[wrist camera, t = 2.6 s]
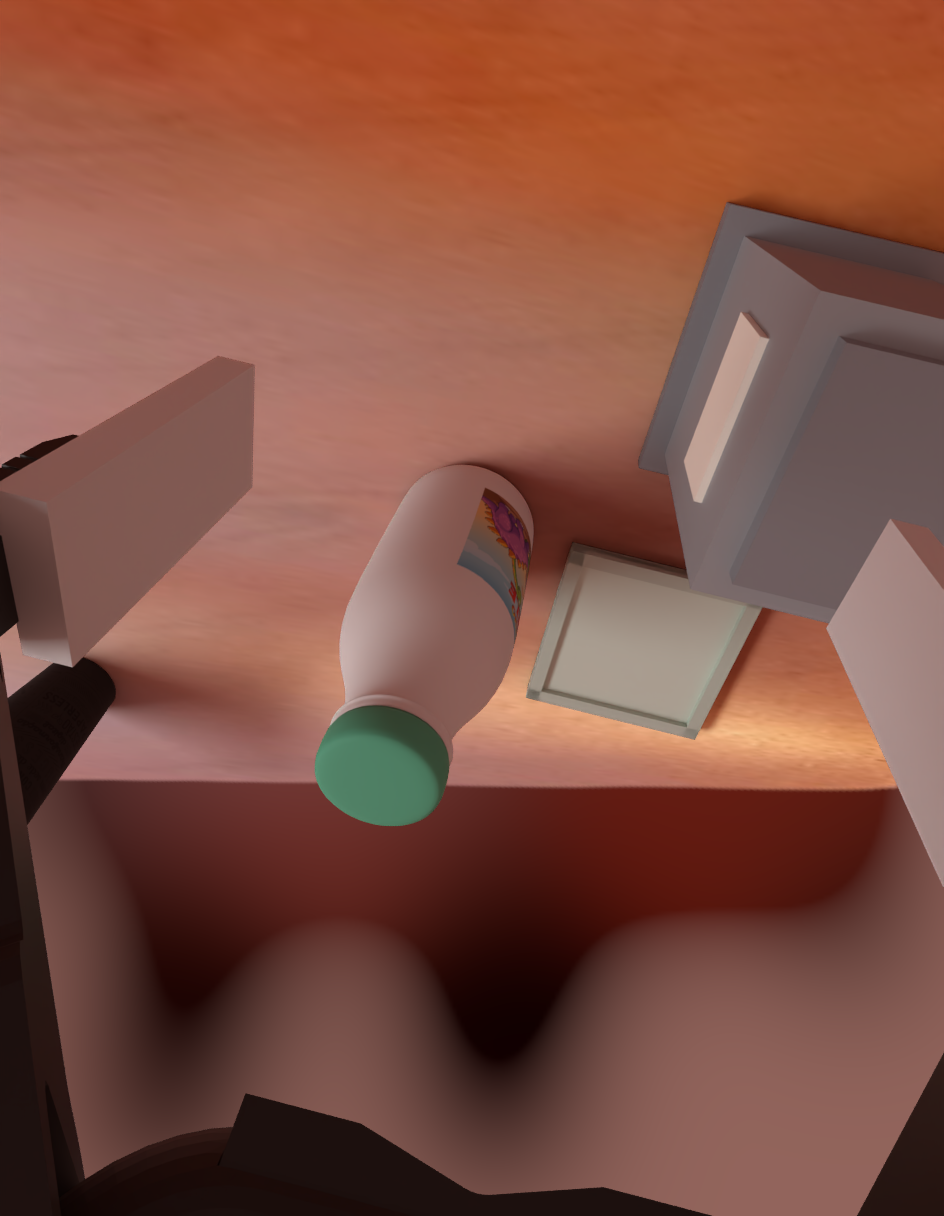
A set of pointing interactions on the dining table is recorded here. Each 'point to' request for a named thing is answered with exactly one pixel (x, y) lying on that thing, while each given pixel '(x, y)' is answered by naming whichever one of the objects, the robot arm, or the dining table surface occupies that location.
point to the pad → (637, 643)
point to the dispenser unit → (802, 409)
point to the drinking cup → (55, 723)
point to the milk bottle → (425, 642)
